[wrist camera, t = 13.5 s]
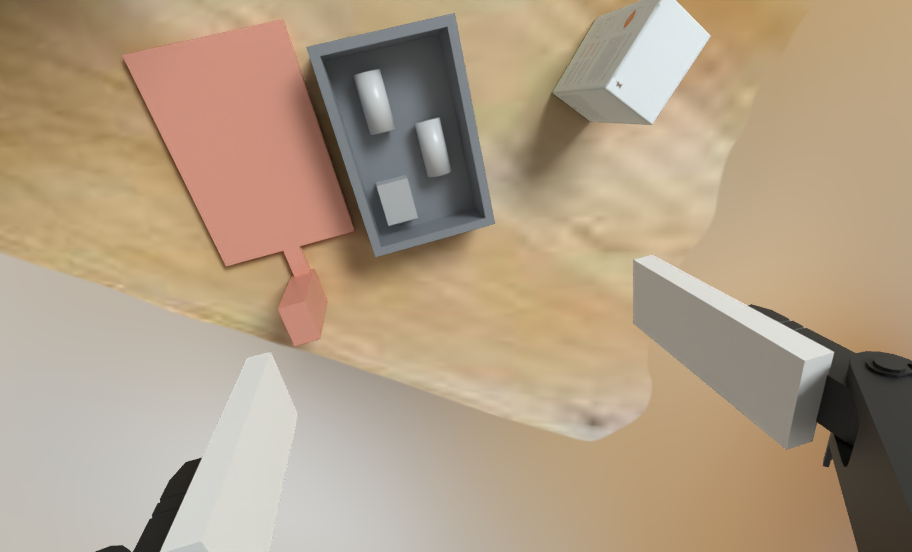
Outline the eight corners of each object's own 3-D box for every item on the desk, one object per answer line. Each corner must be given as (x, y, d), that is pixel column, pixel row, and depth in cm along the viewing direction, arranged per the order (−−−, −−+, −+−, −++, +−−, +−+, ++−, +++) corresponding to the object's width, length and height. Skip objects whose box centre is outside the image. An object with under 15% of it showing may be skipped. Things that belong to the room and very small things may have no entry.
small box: (589, 122, 44) (651, 128, 35) (549, 92, 42) (603, 89, 33) (636, 50, 42) (714, 35, 33) (596, 15, 40) (667, -12, 31)
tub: (313, 53, 37) (306, 47, 33) (444, 23, 38) (454, 12, 34) (374, 241, 44) (375, 257, 40) (482, 211, 46) (495, 223, 41)
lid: (126, 56, 35) (63, 43, 27) (284, 21, 36) (263, -1, 29) (256, 322, 45) (236, 363, 38) (374, 288, 46) (376, 322, 39)
